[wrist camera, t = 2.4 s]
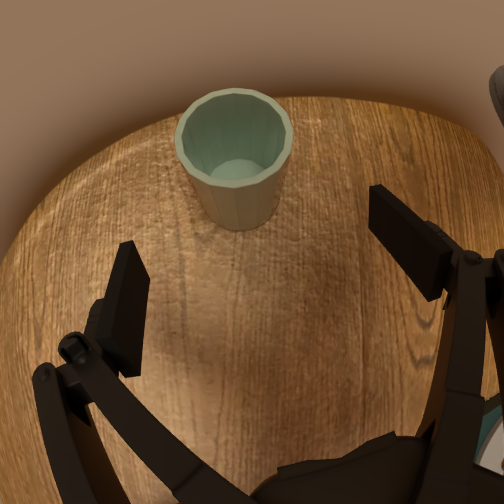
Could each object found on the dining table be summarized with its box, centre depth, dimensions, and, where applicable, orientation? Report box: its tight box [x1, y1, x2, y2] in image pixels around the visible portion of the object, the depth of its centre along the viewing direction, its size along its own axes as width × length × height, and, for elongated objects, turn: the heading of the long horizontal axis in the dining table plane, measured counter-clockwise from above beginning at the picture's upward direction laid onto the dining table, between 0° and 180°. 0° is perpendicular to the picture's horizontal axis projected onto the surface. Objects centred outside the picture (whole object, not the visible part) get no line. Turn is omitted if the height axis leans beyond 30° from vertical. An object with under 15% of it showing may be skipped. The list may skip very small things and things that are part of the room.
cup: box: [174, 88, 294, 231], centre depth 24 cm, size 7×7×11 cm
